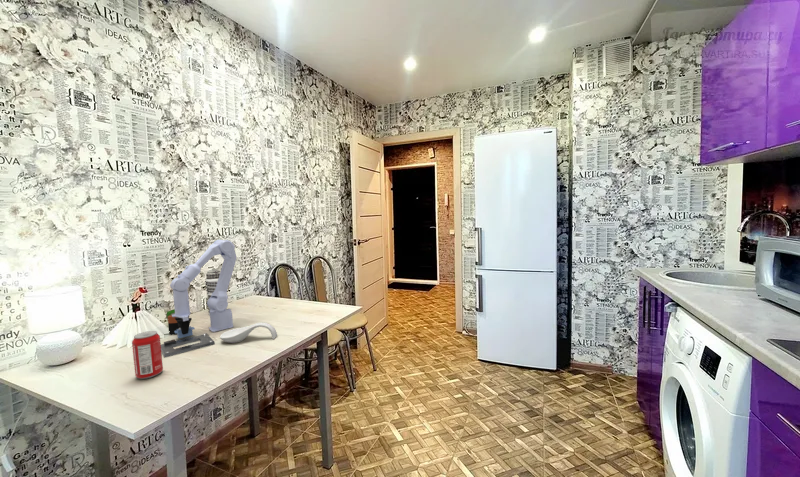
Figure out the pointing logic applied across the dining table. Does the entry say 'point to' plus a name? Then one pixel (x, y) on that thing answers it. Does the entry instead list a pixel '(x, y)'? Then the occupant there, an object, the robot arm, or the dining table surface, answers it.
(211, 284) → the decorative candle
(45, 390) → the dining table surface
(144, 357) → the soda can
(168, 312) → the bell pepper
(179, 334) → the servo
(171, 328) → the battery
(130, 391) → the dining table surface
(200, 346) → the plate
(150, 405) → the dining table surface
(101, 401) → the dining table surface
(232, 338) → the spoon rest
